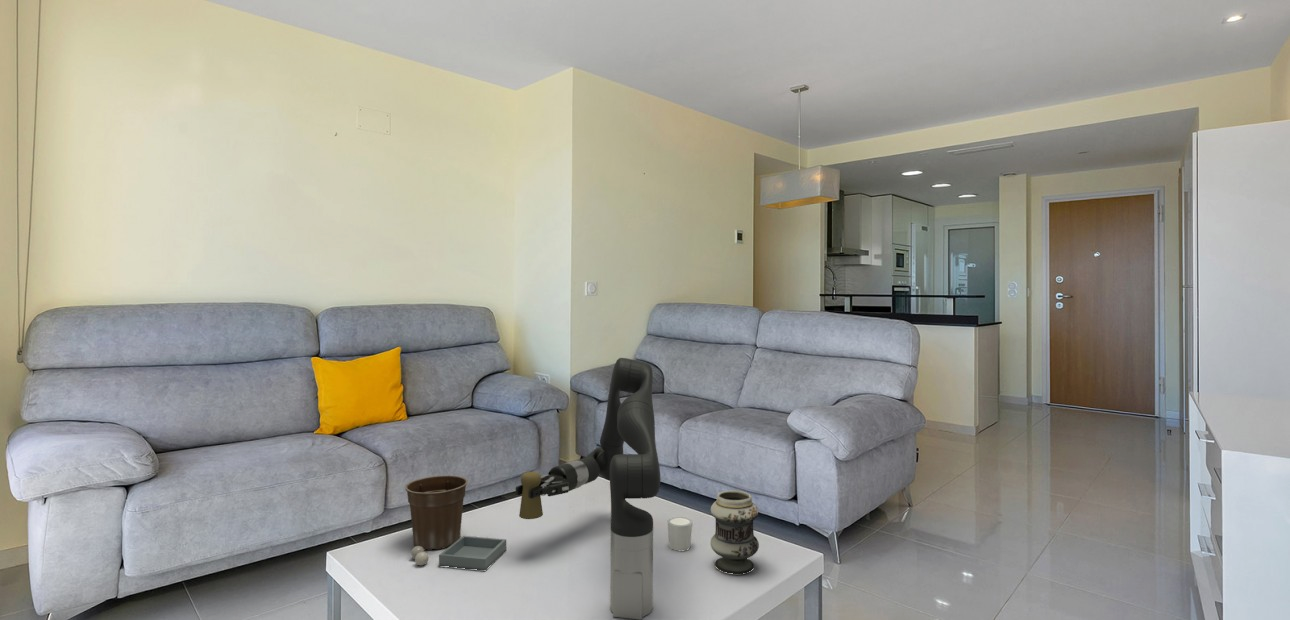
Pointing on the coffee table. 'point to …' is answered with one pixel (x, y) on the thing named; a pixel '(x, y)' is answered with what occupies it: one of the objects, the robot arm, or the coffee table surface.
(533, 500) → the cork
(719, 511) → the apothecary jar
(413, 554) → the pebble
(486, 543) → the slate dish
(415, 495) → the plant pot
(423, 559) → the pebble
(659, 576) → the coffee table surface
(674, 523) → the white cup
